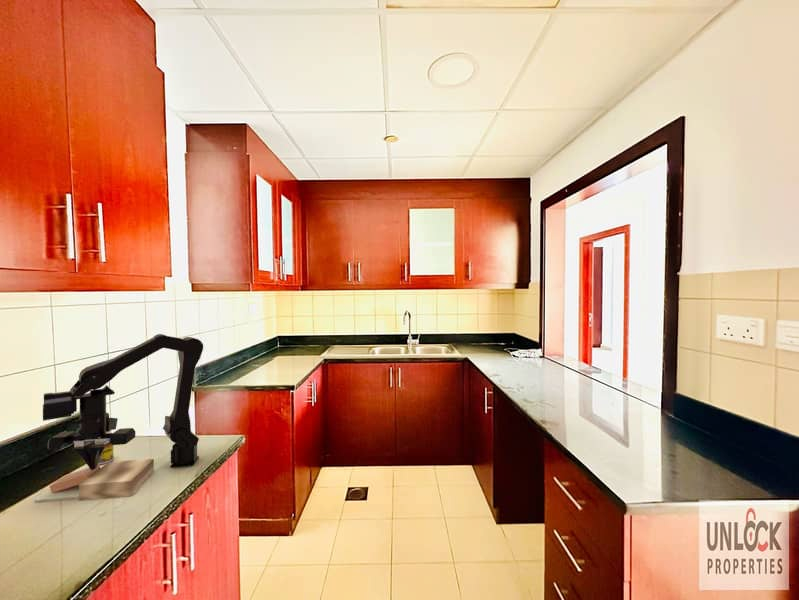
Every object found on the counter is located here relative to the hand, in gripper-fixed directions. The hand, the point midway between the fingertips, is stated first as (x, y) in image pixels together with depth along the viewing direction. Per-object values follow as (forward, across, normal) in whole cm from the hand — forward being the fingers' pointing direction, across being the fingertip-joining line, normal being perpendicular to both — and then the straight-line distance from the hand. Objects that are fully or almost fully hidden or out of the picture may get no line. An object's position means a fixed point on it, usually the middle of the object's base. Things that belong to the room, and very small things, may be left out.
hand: (93, 469), depth 106 cm
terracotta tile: (+3, +4, 0) cm, 5 cm away
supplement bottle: (+5, +7, -18) cm, 20 cm away
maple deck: (+5, -6, 0) cm, 8 cm away
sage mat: (+5, +5, 0) cm, 7 cm away
